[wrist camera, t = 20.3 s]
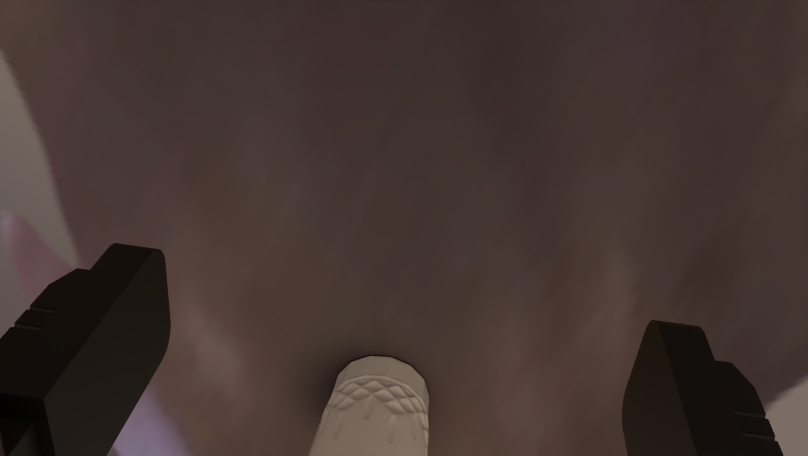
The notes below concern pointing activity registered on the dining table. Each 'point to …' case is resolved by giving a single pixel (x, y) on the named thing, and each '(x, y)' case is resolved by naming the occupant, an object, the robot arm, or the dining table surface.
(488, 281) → the dining table surface
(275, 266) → the dining table surface
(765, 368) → the dining table surface
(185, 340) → the dining table surface
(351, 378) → the white cup
